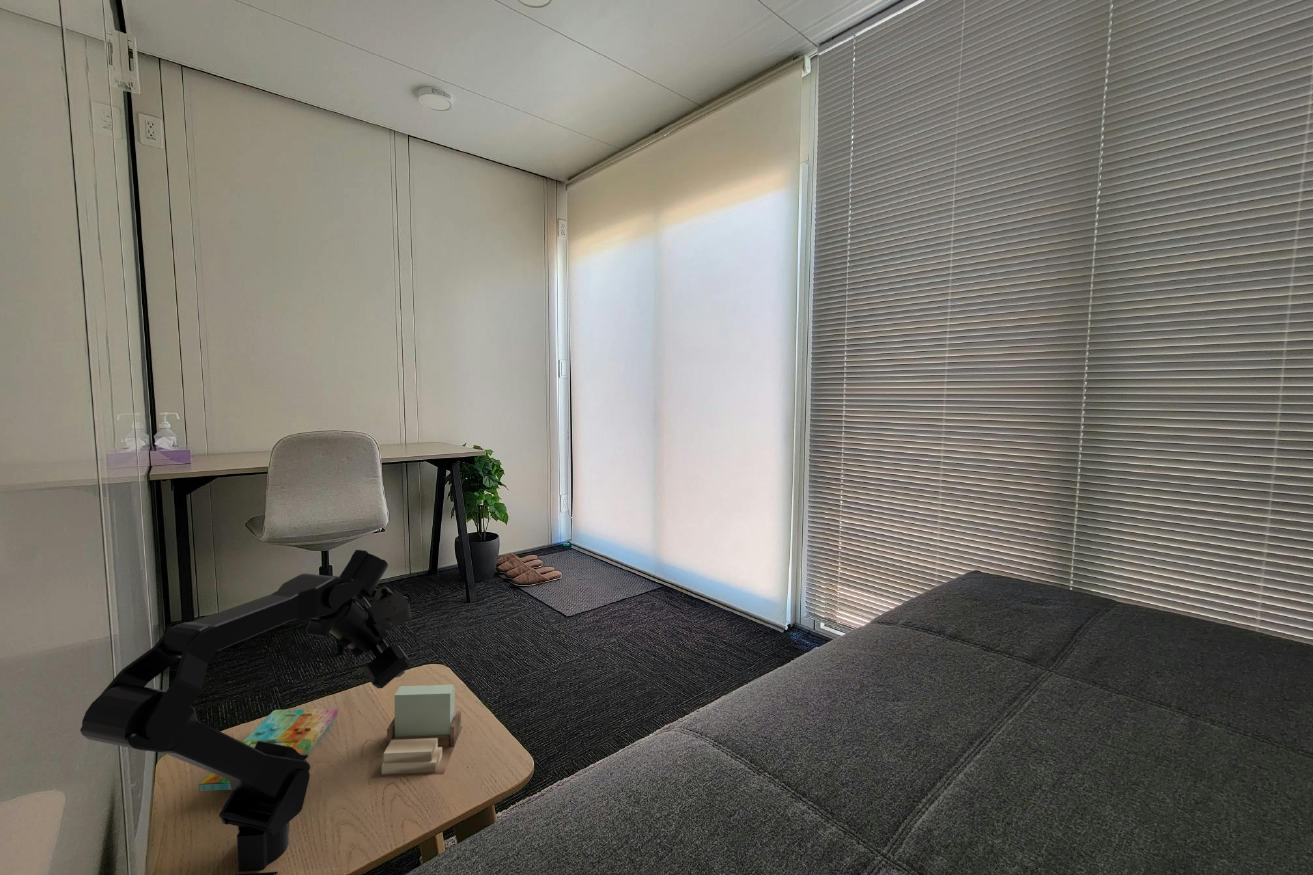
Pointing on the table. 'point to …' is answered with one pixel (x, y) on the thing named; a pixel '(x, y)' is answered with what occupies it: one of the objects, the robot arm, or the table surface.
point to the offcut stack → (412, 756)
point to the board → (424, 710)
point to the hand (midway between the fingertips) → (390, 657)
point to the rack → (443, 740)
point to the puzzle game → (283, 735)
